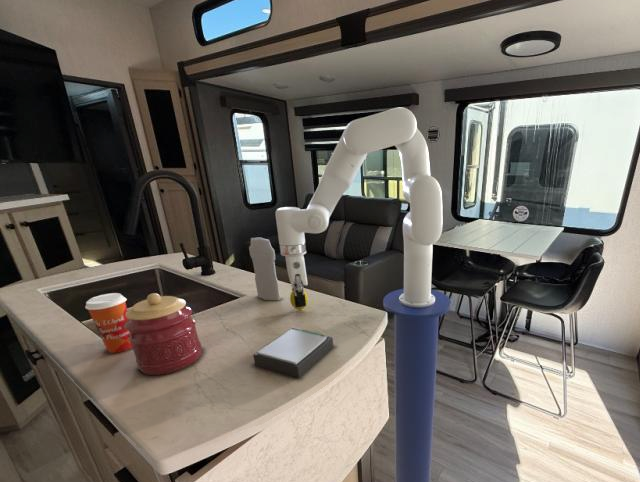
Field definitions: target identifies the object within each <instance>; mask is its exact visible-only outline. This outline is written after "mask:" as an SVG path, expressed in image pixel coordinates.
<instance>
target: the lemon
mask: <svg viewBox="0 0 640 482" xmlns="http://www.w3.org/2000/svg"><path fill="white" fill-rule="evenodd" d="M296 290H297V288H296ZM304 294H305V300H306V306H303V307H296V306H295V299H294V295H295V292H294V290H293V291H291V293H290V297H289V301H290V305H291V306H292V307H293V309H296V310H299V311H302V310H303V309H305V308H306V307H307V305H308V304H309V296H308V292H307V291H306V290H305V289H304Z"/></svg>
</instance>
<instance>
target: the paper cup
mask: <svg viewBox="0 0 640 482" xmlns="http://www.w3.org/2000/svg"><path fill="white" fill-rule="evenodd" d="M127 300H128V299H127V298H126V297H125V296H124V295H122V293H120V292H119V293H118V292H111V293H104V294H99V295H97V296H93V297H91V298H90V299H88V300H87V301H86V302H85V309H86V310H88V313H89V315H90V317H91V319H92V321H93V323H94V325H95V328H96V330H97V332H98V334H99V336H100V338H101V340H102V342H103V344H104V346H105V348H106V350H107V352H109V353H111V354H115V353H121V352H125V351H127V350H130V349H131V348H132V345H131V342H129V340H128V337H129V335H130V333H129V331H128V330H126V329H125V328H124V323H125V321H126V320H127V319H128V318H127V317H126V316H125V314H126V312H127V311H128V307H127V303H126V301H127ZM132 349H133V348H132Z"/></svg>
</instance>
